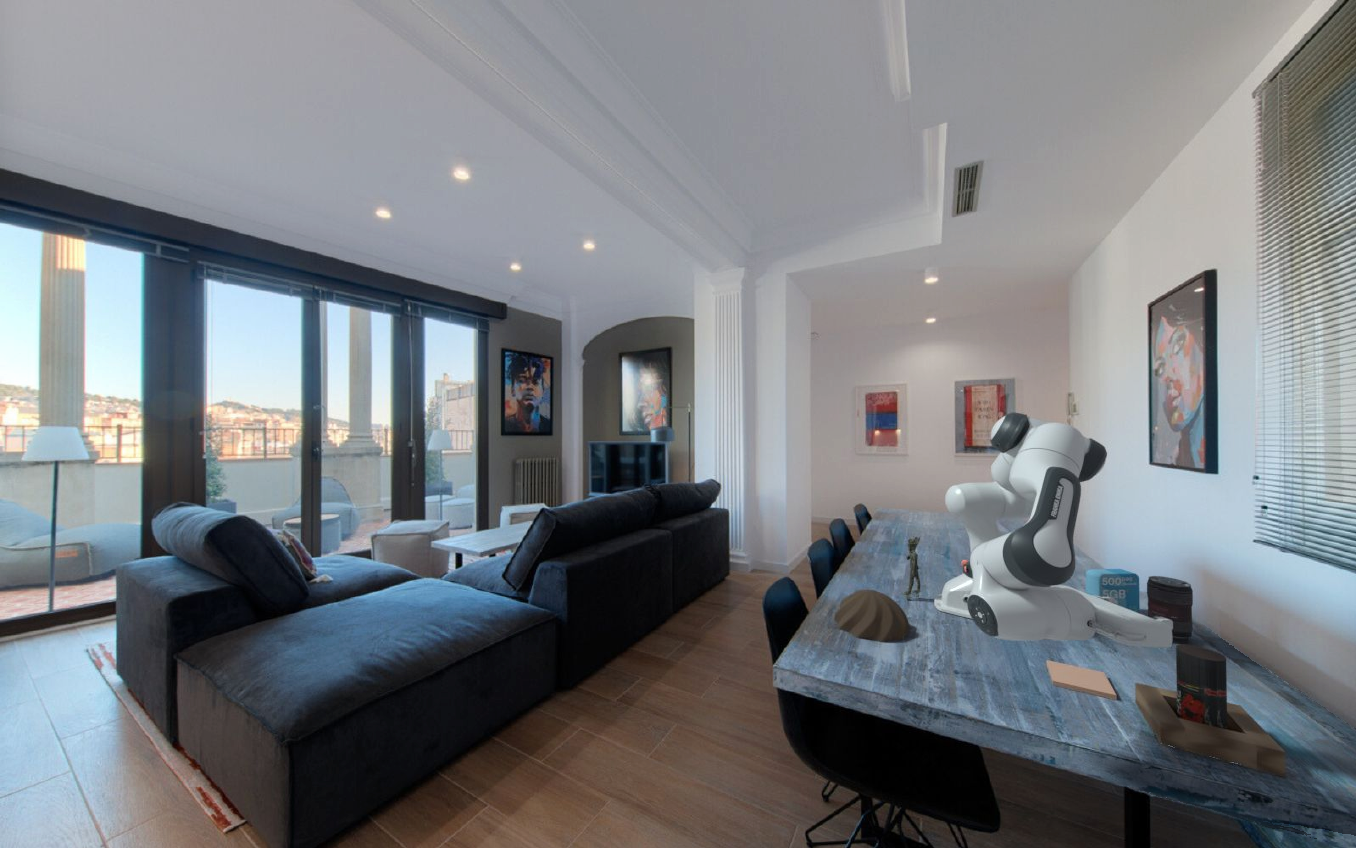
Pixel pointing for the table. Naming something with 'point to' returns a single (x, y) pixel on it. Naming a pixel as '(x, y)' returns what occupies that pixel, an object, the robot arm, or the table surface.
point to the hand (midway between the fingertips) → (1139, 612)
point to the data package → (1115, 586)
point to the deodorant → (1201, 685)
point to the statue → (913, 567)
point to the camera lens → (1172, 605)
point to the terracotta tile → (1080, 679)
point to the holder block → (1211, 732)
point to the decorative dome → (872, 616)
